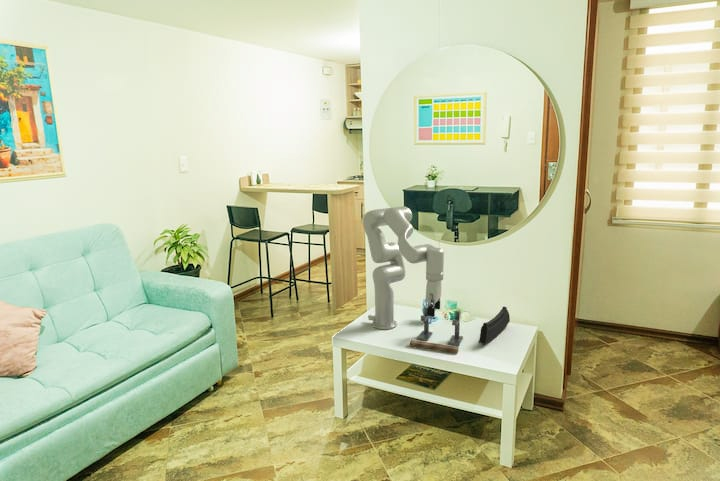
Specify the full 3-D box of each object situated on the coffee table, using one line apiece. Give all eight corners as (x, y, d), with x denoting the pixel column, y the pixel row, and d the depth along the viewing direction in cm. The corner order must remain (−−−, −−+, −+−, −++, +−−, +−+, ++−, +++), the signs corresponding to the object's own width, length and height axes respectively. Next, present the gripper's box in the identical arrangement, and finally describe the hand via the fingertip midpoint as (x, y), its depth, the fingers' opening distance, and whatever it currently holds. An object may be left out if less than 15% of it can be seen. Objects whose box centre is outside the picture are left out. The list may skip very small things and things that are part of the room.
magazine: (484, 330, 219) (508, 294, 239) (477, 328, 221) (501, 293, 241) (487, 359, 226) (510, 323, 247) (480, 358, 228) (504, 321, 249)
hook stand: (417, 339, 232) (417, 311, 229) (422, 332, 240) (422, 305, 237) (459, 345, 224) (459, 317, 221) (463, 338, 232) (463, 310, 229)
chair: (420, 322, 253) (420, 300, 250) (424, 317, 260) (424, 295, 258) (434, 324, 250) (434, 302, 247) (438, 318, 258) (438, 297, 255)
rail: (409, 347, 225) (409, 342, 224) (411, 344, 227) (411, 339, 227) (457, 354, 216) (457, 349, 216) (458, 352, 219) (458, 346, 218)
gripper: (431, 269, 223) (430, 305, 227) (420, 280, 208) (420, 318, 212) (447, 271, 220) (446, 307, 224) (438, 282, 205) (437, 320, 209)
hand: (433, 312), depth 218 cm, fingers open, 9 cm apart
